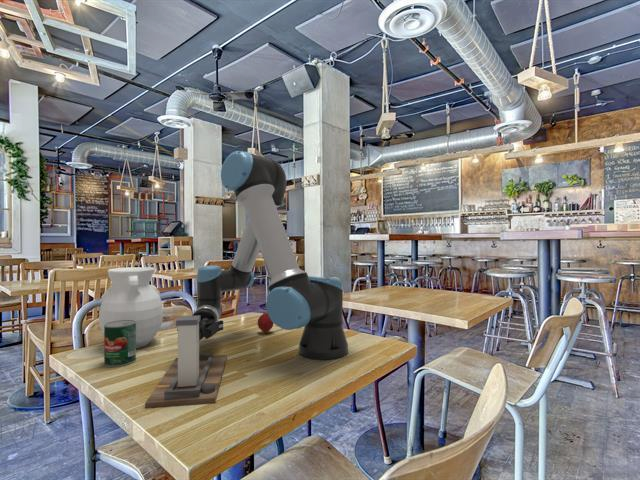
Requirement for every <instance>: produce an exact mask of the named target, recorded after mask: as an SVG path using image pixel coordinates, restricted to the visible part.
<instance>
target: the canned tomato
mask: <svg viewBox="0 0 640 480" xmlns="http://www.w3.org/2000/svg"><path fill="white" fill-rule="evenodd" d="M103 337H104V340H103V341H104V343H103V345H104V347H103V351H104V352H103V355H104V356H103V360H104V362H103V366H105V367H107V368H116V367H117V368H118V367H123V366H124V367H125V366H128V365H130V364H133V363H135V362H136V361H137V357H136V356H137V348H136V321H134V320H120V321H113V322H109V323H106V324H105V325H104V335H103Z"/></svg>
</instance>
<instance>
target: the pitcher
mask: <svg viewBox="0 0 640 480" xmlns="http://www.w3.org/2000/svg"><path fill="white" fill-rule="evenodd" d="M154 270H155V267H153V266H151V267H150V266H141V267H140V266H139V267H138V266H136V267H135V266H133V267H131V266H129V267H115V268H109V269H108V270H106V272H107V275H108V277H109V279H110V281H111V283H112V285H110V287H108V289H105V291H104V294H103V295H101V298H100V300H101V301H102V302H101V304H100V308H99V315H98V324H99V328H100V331H101V333H102V335H103V336H104V325H105V324H106V323H109V322H113V321H120V320H134V321H136V349H138V348H139V349H140V348H143V347H145V346H147V345H148V344H149V343H150V342H152V340H153V339H154V338H155V337H156V336H157V333H159V331H160V329H161V326H162V323H163V318H164V309H163V302H162V299H161V292H160V290H158V288H157V287H156V286H155V285H154V284H150V282H151V280H152V277H153V274H154ZM142 346H143V347H142Z"/></svg>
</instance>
